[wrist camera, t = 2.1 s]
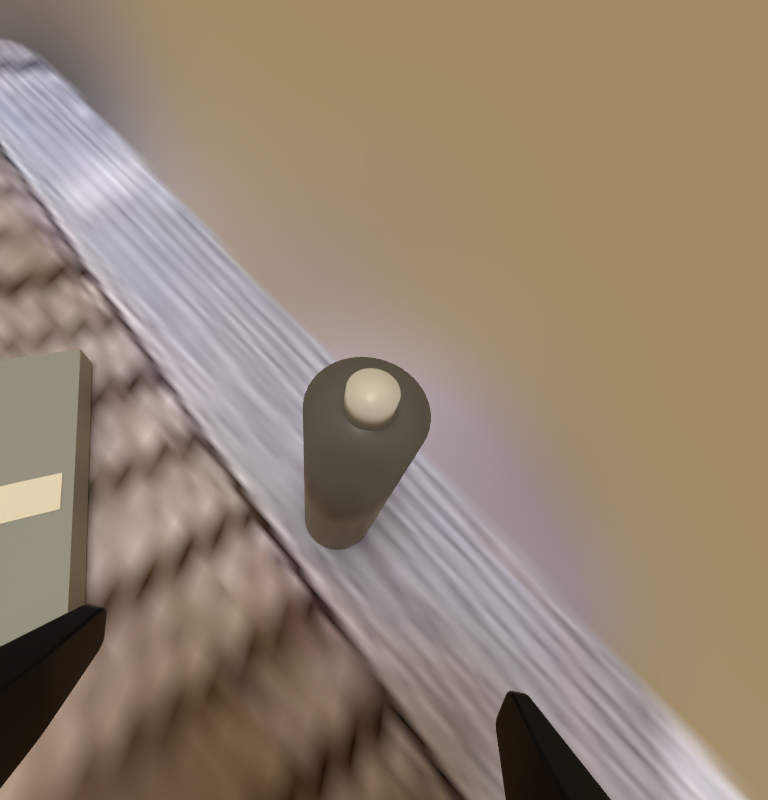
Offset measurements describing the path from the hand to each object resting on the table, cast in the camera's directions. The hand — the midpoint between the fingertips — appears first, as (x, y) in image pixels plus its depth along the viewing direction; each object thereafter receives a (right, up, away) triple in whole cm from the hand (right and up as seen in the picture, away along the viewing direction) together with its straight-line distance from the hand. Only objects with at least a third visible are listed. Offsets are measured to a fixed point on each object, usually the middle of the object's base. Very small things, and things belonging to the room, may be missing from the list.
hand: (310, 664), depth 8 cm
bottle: (-1, -1, +14) cm, 14 cm away
